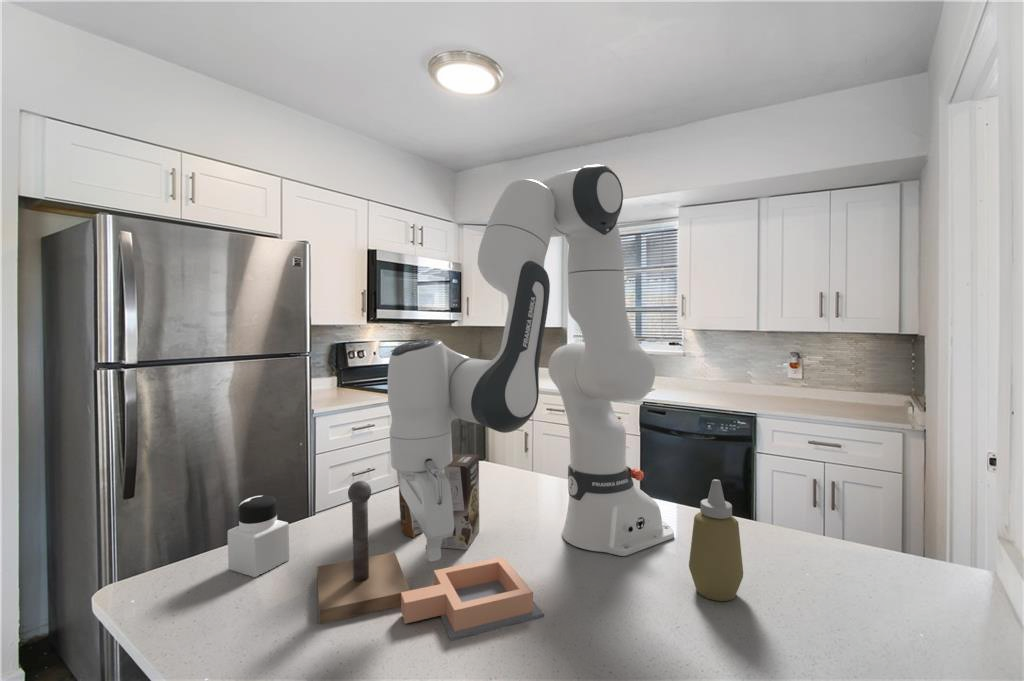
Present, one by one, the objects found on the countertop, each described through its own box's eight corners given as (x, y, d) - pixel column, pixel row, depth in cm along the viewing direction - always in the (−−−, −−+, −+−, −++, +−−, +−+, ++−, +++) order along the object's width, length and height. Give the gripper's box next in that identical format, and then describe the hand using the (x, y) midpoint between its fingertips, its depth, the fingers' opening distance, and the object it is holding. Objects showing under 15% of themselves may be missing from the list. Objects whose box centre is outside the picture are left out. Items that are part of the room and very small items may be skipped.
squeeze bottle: (718, 612, 73) (719, 492, 73) (677, 586, 80) (678, 477, 80) (754, 597, 77) (756, 483, 76) (712, 574, 84) (713, 470, 84)
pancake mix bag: (390, 542, 97) (388, 401, 96) (401, 506, 116) (400, 388, 115) (424, 540, 98) (423, 400, 97) (430, 505, 117) (429, 387, 116)
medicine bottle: (290, 560, 90) (288, 495, 90) (255, 578, 84) (253, 508, 83) (263, 552, 93) (261, 490, 93) (227, 570, 87) (225, 502, 86)
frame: (503, 573, 84) (503, 556, 84) (533, 611, 73) (533, 591, 73) (396, 596, 77) (396, 578, 77) (411, 642, 66) (410, 620, 66)
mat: (507, 572, 86) (507, 569, 86) (543, 616, 73) (543, 613, 73) (428, 589, 80) (428, 586, 80) (451, 640, 67) (451, 637, 67)
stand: (394, 563, 89) (393, 465, 88) (409, 603, 76) (408, 489, 75) (317, 577, 84) (315, 474, 83) (319, 623, 71) (316, 501, 70)
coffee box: (468, 550, 94) (467, 466, 93) (435, 547, 95) (434, 464, 94) (480, 530, 103) (480, 453, 102) (451, 528, 104) (450, 452, 103)
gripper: (463, 467, 64) (467, 572, 64) (427, 434, 82) (430, 515, 83) (414, 475, 61) (419, 583, 62) (388, 439, 80) (392, 522, 81)
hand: (425, 544), depth 73 cm, fingers open, 8 cm apart
